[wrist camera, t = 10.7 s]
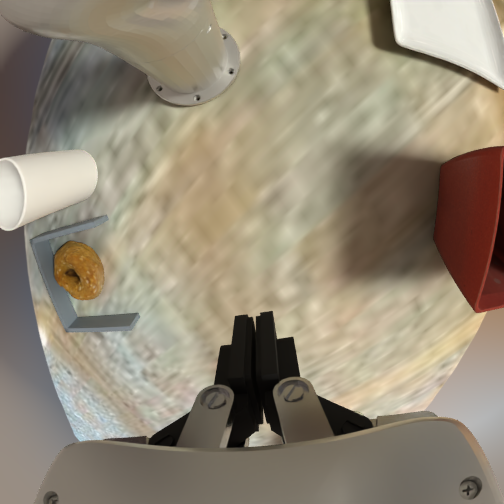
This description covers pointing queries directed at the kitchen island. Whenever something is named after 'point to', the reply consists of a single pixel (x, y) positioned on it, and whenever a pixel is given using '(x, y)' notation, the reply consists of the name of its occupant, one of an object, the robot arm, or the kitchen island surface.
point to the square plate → (453, 33)
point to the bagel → (79, 270)
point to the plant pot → (473, 225)
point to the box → (60, 294)
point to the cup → (43, 184)
